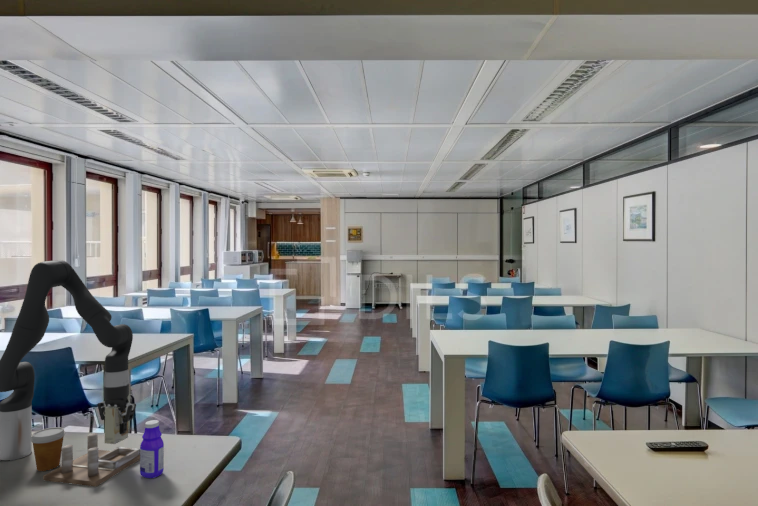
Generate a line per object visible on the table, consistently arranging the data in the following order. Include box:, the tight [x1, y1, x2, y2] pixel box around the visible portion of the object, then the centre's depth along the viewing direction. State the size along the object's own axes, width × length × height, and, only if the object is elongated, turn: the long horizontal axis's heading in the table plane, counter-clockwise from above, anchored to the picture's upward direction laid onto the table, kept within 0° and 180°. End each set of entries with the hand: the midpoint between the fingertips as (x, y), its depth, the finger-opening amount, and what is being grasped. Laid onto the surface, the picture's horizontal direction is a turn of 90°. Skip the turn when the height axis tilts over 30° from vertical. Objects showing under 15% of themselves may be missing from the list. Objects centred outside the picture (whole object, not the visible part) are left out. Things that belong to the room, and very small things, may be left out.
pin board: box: [42, 432, 140, 487], centre depth 151 cm, size 20×20×10 cm
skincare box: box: [104, 406, 129, 445], centre depth 154 cm, size 6×4×12 cm
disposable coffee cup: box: [31, 426, 66, 472], centre depth 153 cm, size 10×10×12 cm
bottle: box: [139, 419, 165, 479], centre depth 147 cm, size 7×6×17 cm
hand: (116, 432), depth 154 cm, fingers closed on skincare box, 4 cm apart
